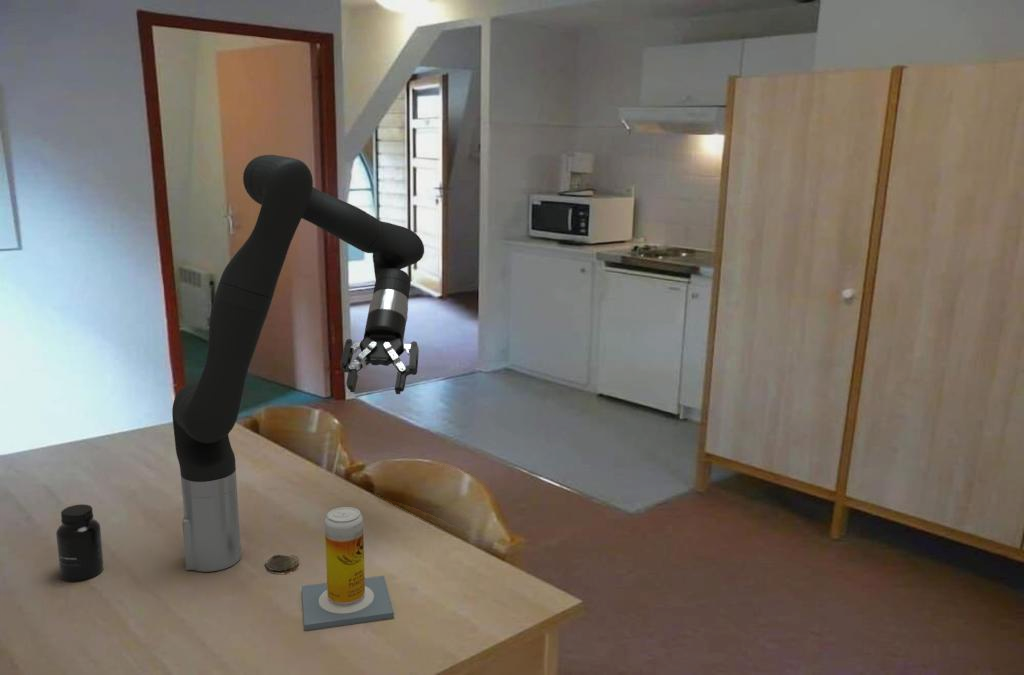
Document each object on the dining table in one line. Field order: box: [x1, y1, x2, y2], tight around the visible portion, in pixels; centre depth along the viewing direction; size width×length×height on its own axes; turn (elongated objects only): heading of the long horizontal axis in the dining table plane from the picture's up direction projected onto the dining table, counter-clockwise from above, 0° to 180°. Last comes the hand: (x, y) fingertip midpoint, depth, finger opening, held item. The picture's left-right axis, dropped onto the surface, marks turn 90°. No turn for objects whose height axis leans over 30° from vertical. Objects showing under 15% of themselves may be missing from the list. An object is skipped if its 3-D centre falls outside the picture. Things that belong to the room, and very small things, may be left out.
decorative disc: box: [264, 554, 301, 575], centre depth 144 cm, size 7×6×1 cm
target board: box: [301, 575, 395, 632], centre depth 132 cm, size 14×12×1 cm
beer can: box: [324, 506, 366, 605], centre depth 131 cm, size 6×6×15 cm
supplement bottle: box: [55, 504, 104, 582], centre depth 139 cm, size 7×7×12 cm
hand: (374, 391), depth 146 cm, fingers open, 8 cm apart
